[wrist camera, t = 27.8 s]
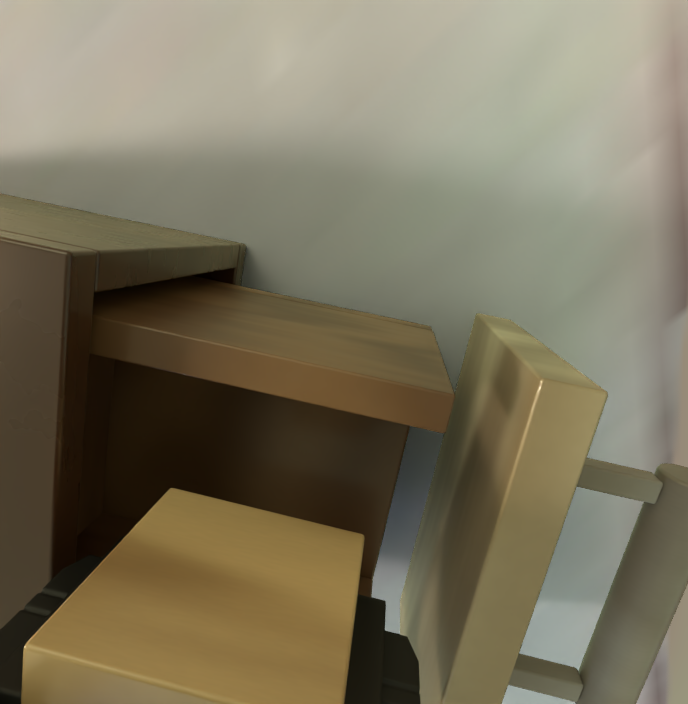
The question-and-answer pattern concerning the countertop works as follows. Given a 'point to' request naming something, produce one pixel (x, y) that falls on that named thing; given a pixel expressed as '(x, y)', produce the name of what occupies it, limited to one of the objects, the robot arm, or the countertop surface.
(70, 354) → the cabinet
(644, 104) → the countertop surface
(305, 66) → the countertop surface
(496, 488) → the drawer
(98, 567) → the block
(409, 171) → the countertop surface
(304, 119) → the countertop surface
